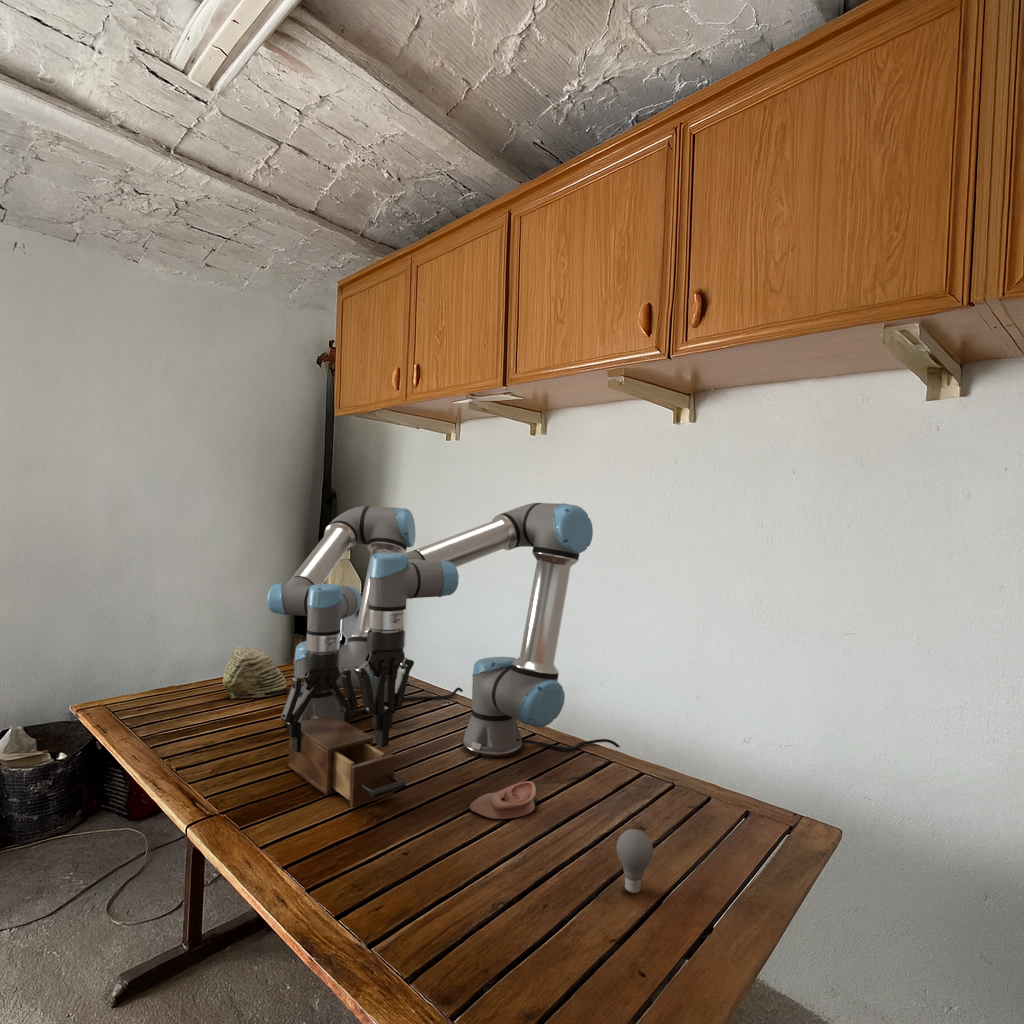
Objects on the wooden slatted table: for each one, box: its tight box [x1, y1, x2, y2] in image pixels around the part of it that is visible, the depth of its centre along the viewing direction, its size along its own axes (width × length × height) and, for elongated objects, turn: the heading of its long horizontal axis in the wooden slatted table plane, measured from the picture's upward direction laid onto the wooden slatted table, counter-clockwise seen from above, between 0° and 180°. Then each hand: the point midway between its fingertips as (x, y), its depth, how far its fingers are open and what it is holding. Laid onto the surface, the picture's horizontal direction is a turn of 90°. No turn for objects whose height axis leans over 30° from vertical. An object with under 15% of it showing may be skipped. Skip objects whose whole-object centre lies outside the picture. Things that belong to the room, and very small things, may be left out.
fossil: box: [222, 646, 288, 699], centre depth 198 cm, size 9×18×15 cm, turn 132°
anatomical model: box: [468, 780, 537, 820], centre depth 133 cm, size 13×4×12 cm
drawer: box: [331, 743, 407, 809], centre depth 135 cm, size 24×10×8 cm, turn 44°
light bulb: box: [615, 828, 654, 894], centre depth 106 cm, size 6×6×10 cm
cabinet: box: [288, 715, 374, 797], centre depth 145 cm, size 19×11×10 cm, turn 44°
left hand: (319, 744), depth 148 cm, fingers closed on cabinet, 11 cm apart
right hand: (381, 744), depth 129 cm, fingers closed
